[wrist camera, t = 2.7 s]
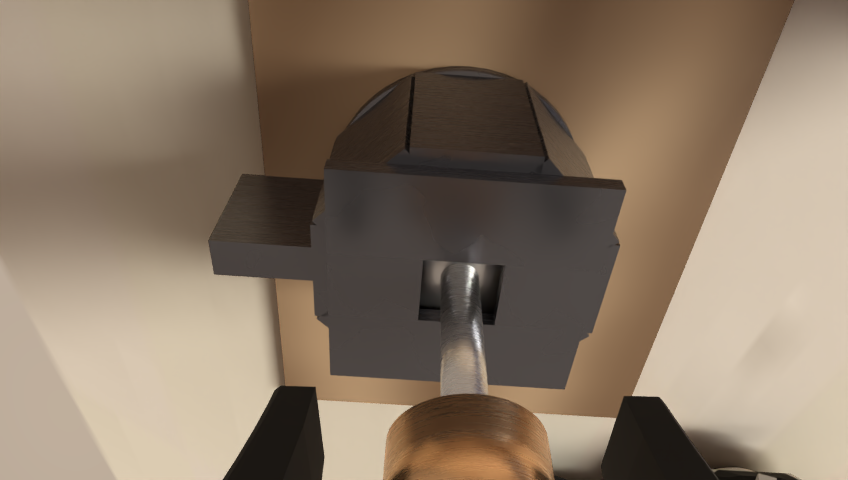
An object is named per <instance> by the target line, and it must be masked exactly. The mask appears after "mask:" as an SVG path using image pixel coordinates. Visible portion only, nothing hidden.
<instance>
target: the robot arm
mask: <svg viewBox="0 0 848 480" xmlns="http://www.w3.org/2000/svg"><path fill="white" fill-rule="evenodd" d="M323 465H324V450H323V442H322V434H321V426H320V418H319V410H318V402H317V394H316V387H307V386H280V387H278V388H277V389H276V390H275V391H274V393H273V395H272V397H271V399H270V401H269V403H268V405H267V407H266V408H265V410H264V412H263V414H262V416H261V418H260V419H259V421H258V423H257V425H256V427H255V428H254V430H253V432H252V433H251V435H250V437H249V439H248V440H247V442H246V444H245V445H244V447H243V449H242V450H241V452H240V453H239V455H238V457H237V458H236V460H235V462H234V463H233V465H232V466H231V468H230V469H229V471H228V472H227V474H226V475H225V477H224V479H223V480H322V473H323ZM601 469H602V476H603V480H719V479H718V477H717V476H716V475H715V473H714V472H713V471H712V469H711V468H710V467H709V465H708V464H707V462H706V461H705V460H704V458H703V457H702V456H701V454H700V453H699V451H698V450H697V449H696V447H695V446H694V444H693V443H692V442H691V440H690V439H689V437H688V436H687V435H686V433H685V432H684V430H683V429H682V428H681V426H680V425H679V423H678V422H677V420H676V419H675V418H674V416H673V415H672V413H671V412H670V410H669V409H668V407H667V406H666V405H665V403H664V402H663V401H662V400H661V399H660V398H659V397H642V396H624V397H623V400H622V403H621V406H620V409H619V412H618V415H617V418H616V421H615V424H614V428H613V431H612V434H611V437H610V440H609V443H608V446H607V449H606V452H605V455H604V458H603V461H602V464H601Z"/></svg>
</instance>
